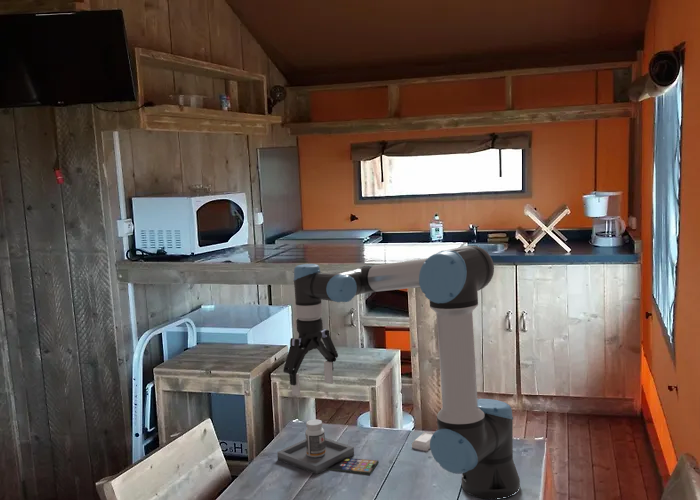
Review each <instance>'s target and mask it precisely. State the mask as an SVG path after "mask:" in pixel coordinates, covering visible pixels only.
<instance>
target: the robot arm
mask: <svg viewBox="0 0 700 500" xmlns="http://www.w3.org/2000/svg"><path fill="white" fill-rule="evenodd" d="M494 265H495V264H494V261H493V258H492V257H491V255H490V254H489V253H488V252H487V251H486V250H485V249H484V248H483V247H479V246H477V245H465V246H464V245H463V246H461V247H456V248H451V249H447V250H441V251H438V252H436V253H434V254H432V255H430V256H428V257H427V258H421V259H419V258H418V259H414V260H413V259H412V260H407V261H400V262H399V261H397V262H391V263H384V264H377V265H366V266H365V265H364V266H361V267H357V268H354V269H348V270H344V271H340V272H335V273H326V272H325V273H324V272H321V269H320V268H321V267H320V265H318V264H317V263H316V264H315V263H304V264H303V263H302V264H298V265H296V266H295V267H294V269H293V284H294V299H295V302H294V303H295V316H296V318H297V319H296V322H295V323H296V331H297V333H298V337H296V338H293V337H292V338H290V340H289V341H290V342H289V349H288V352H287V356H286V359H285V363H284V367H283V373H285V374H288V375H289V385H291V395H292V396H295V397H301V381H300V373H299V372H298V371H299V370H300V368H301V365H302V363H303V362H304V359H305V357H306V355H307V354H308V353H309V352H311V351H313V350H316V349H317V351H319V353H320V354H321V355H322V356H323V358H324V359H325V360H323V367H324V368H323V370H324V371H323V372H324V383H326V384H334V376H333V375H334V374H333V372H334V369H335V368H334V363H335V362H336V361H337V358H338V357H339V353H338V350H337V349H336V347H335V345H334V343H333V340H332V337H331V334H330V330H329V329H324V328H323V327H324V326H323V325H324V324H323V317H322V316H323V307H322V301H329V302H336V303H348V302H351V301H352V299H353V298H355V296H358V295H362V294H369V293H376V292H386V291H395V290H396V291H398V290H405V289H407V290H408V289H415V288H420V290H421V292H422V293H423V294H424V297H425V298H426V299H427V300H429V308H431V310H433V312H435V314H436V325H437V340H438V341H437V342H438V344H437V345H438V354H439V355H438V356H439V370H440V373H439V374H440V387H441V389H440V390H441V400H442V401H441V402H442V408H441V409H440V410H439V411H438V413H437V415H436V421H437V425H436V426H437V430H434V432H433V433H434V434H433V435H432V437H431V439H430V449H429V450H430V453H431V455H432V457H433V459H434V460H435V462H436V463H438V464H439V466H440V467H441V468H442V469H444V471H447V472H449V473H451V474H457V475H460V474H461V488H462V490H463V491H464V492H466V493H467V494H468V495H471V496H473V497H475V498H480V499H486V500H498V499H497V498H503V497H508V496H510V495H512V494H514V493H515V492H517V491H518V489H519V487H520V488H521V480H520V476H519V473H518V471H517V468H516V464H515V462H514V459H513V458H514V456H513V451H514V450H513V448H514V447H513V446H514V445H513V443H514V442H513V441H514V440H513V439H514V438H513V437H514V436H513V427H514V426H513V420H514V417H513V408H512V407H511V405H509V404H508V403H507V402H505V401H501V400H497V399H493V398H492V399H491V398H478V387H477V386H478V385H477V371H476V370H477V369H476V353H475V351H476V350H475V337H474V335H475V334H474V317H473V311H474V310H475V309H476V308H477V307H478V305H479V295H478V294H479V293H478V292H479V291H480V290H483V289H484V288H486V286H488V285H489V283H491V281H492V279H493V276H494V273H495V266H494ZM508 498H509V497H508Z"/></svg>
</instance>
